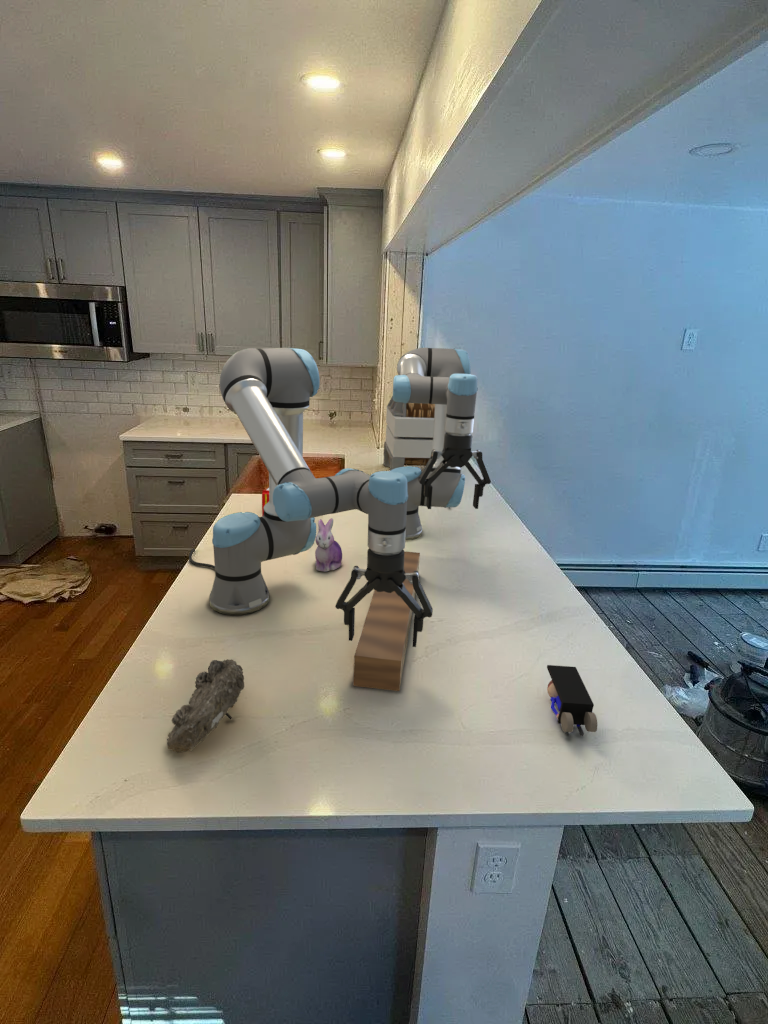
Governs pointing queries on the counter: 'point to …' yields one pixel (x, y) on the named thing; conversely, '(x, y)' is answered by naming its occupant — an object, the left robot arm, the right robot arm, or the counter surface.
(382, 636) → the slab
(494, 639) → the counter surface
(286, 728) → the counter surface
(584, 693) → the figurine character
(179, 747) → the fossil
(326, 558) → the figurine
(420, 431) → the light grey slatted crate
